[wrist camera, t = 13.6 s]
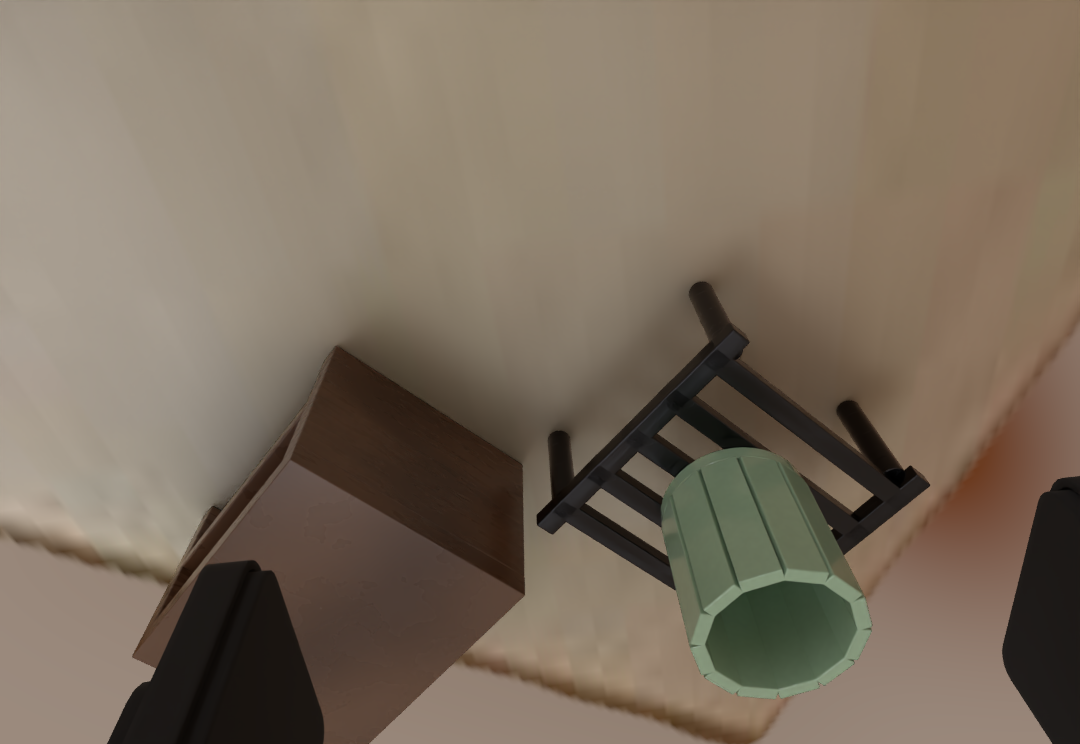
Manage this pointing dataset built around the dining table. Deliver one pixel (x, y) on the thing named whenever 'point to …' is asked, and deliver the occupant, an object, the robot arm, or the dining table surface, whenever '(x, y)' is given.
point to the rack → (680, 399)
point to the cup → (760, 576)
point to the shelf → (369, 544)
